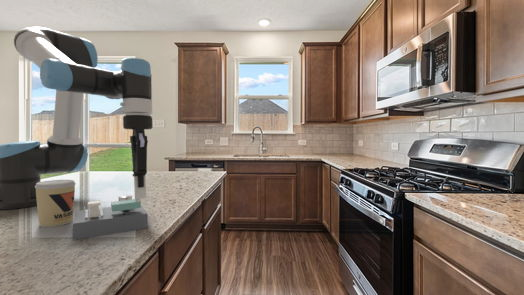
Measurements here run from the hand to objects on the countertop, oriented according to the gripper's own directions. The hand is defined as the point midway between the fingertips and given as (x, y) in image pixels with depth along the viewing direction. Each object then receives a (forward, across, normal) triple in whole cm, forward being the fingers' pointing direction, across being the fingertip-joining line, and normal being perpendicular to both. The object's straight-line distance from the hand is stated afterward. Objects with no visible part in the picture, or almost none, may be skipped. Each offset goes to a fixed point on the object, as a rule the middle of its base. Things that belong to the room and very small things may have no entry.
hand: (140, 198), depth 76 cm
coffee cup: (+7, -15, -20) cm, 27 cm away
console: (+8, -3, -7) cm, 11 cm away
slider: (+3, 0, -11) cm, 12 cm away
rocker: (+1, 0, -4) cm, 4 cm away
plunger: (+3, -7, -3) cm, 8 cm away
